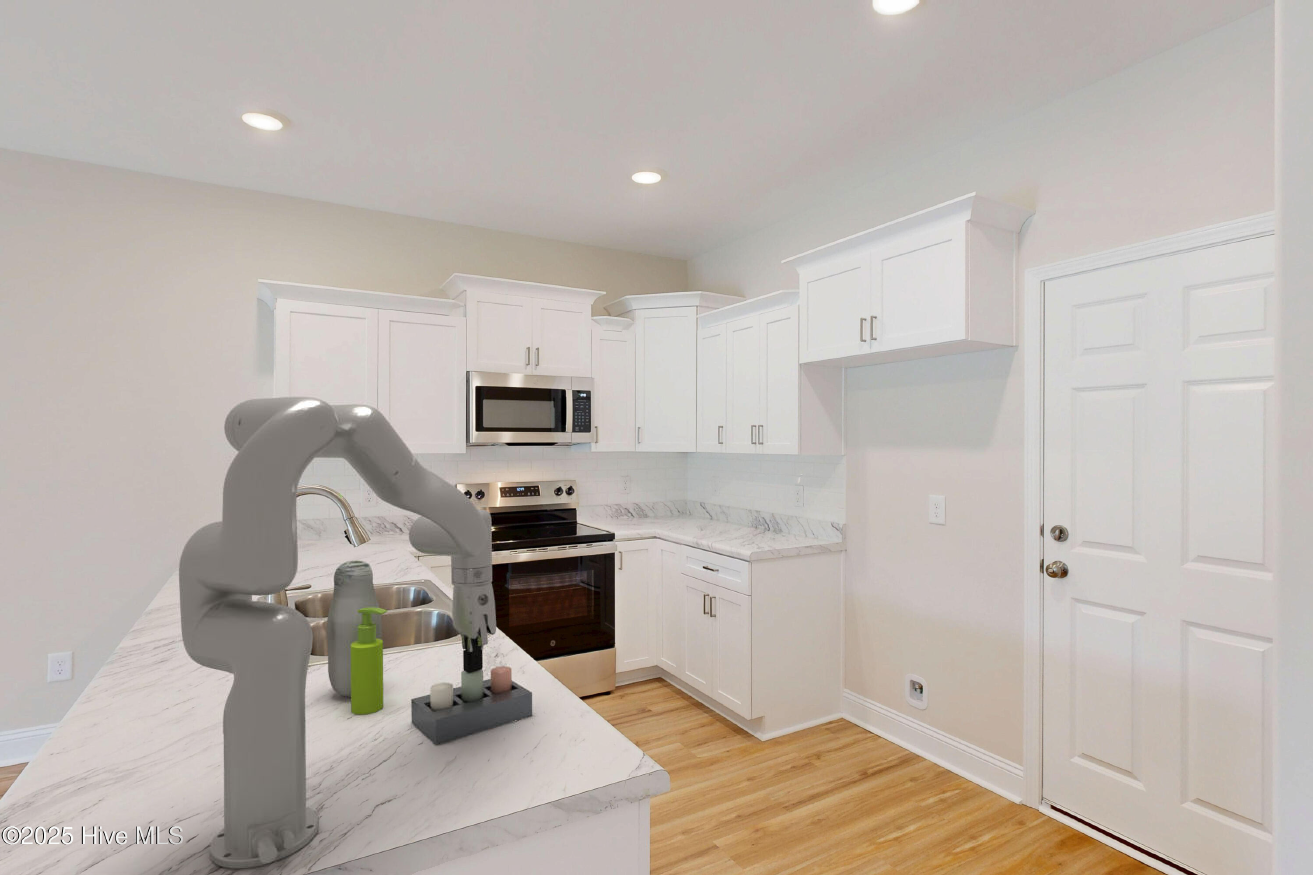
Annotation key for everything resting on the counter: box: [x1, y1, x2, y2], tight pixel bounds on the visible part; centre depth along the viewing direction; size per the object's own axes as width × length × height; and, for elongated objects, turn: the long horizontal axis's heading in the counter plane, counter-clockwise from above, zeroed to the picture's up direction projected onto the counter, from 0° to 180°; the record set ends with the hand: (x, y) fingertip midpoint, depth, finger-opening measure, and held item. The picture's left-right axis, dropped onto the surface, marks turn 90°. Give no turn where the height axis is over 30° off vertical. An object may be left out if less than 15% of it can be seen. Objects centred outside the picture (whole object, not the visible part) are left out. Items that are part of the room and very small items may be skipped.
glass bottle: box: [326, 560, 383, 698], centre depth 140 cm, size 10×10×28 cm
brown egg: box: [490, 666, 513, 695], centre depth 131 cm, size 4×4×5 cm
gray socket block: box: [410, 678, 533, 746], centre depth 127 cm, size 12×19×4 cm, turn 130°
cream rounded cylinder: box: [429, 682, 454, 712], centre depth 124 cm, size 4×4×5 cm
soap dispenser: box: [350, 607, 388, 716], centre depth 133 cm, size 6×7×20 cm
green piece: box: [460, 668, 484, 702], centre depth 127 cm, size 4×4×5 cm
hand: (473, 669), depth 128 cm, fingers closed
